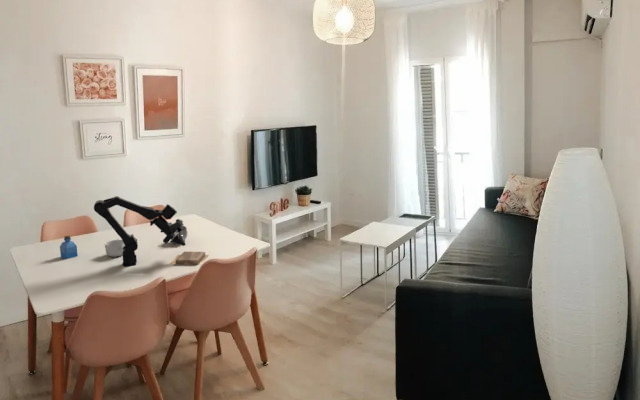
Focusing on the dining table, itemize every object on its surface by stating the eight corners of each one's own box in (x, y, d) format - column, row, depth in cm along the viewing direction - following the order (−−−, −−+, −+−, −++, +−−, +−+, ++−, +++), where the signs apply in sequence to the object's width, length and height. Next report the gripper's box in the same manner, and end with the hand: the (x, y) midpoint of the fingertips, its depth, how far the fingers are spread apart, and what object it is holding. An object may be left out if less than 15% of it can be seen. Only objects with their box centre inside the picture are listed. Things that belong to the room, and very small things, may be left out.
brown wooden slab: (175, 259, 262) (197, 260, 262) (184, 251, 277) (205, 251, 276) (175, 264, 262) (197, 264, 262) (184, 255, 277) (205, 256, 277)
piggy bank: (172, 247, 295) (171, 228, 293) (166, 241, 308) (165, 223, 306) (190, 244, 301) (190, 226, 298) (184, 238, 313) (183, 221, 311)
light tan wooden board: (168, 265, 263) (167, 264, 263) (178, 255, 279) (178, 254, 279) (201, 265, 262) (200, 264, 262) (209, 255, 279) (209, 255, 279)
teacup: (121, 258, 274) (120, 244, 272) (102, 258, 274) (100, 244, 272) (131, 250, 287) (130, 237, 286) (112, 250, 287) (111, 237, 286)
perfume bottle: (77, 256, 277) (75, 235, 275) (67, 259, 272) (64, 238, 270) (71, 254, 280) (69, 234, 278) (60, 257, 275) (58, 236, 273)
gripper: (167, 219, 256) (189, 240, 257) (179, 211, 274) (199, 231, 276) (153, 233, 257) (175, 254, 259) (166, 225, 276) (186, 244, 278)
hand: (184, 245), depth 268 cm, fingers closed
